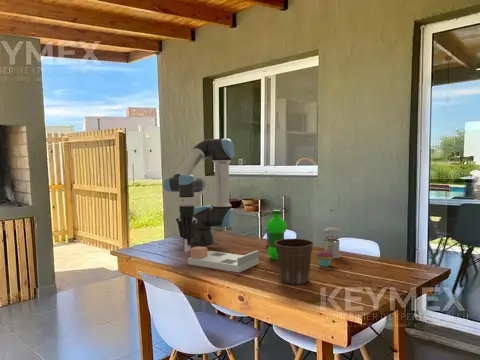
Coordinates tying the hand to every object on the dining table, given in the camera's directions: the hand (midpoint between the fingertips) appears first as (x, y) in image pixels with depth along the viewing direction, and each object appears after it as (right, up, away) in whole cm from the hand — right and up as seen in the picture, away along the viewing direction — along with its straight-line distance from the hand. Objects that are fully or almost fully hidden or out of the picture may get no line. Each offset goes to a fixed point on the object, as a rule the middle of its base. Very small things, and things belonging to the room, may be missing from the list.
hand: (187, 251), depth 193 cm
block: (+6, -2, -4) cm, 8 cm away
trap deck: (+19, -5, -6) cm, 20 cm away
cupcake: (+67, -5, -11) cm, 69 cm away
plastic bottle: (+46, -5, +4) cm, 46 cm away
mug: (+47, -3, +32) cm, 58 cm away
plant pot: (+50, -6, -34) cm, 60 cm away
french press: (+75, -4, +9) cm, 76 cm away
